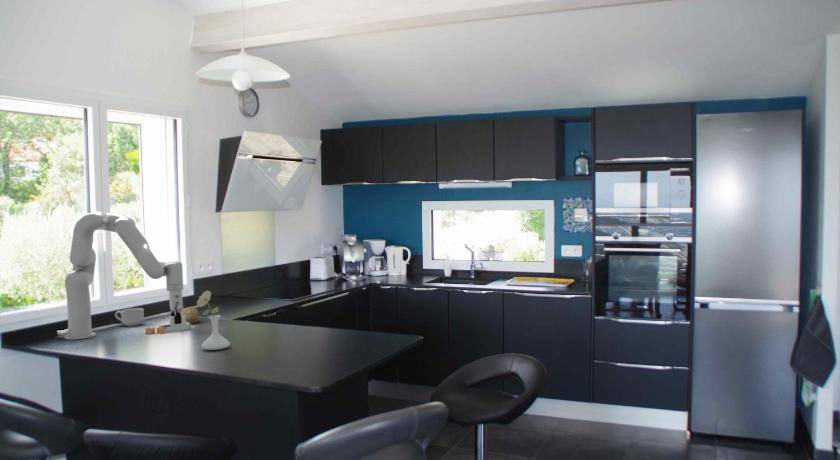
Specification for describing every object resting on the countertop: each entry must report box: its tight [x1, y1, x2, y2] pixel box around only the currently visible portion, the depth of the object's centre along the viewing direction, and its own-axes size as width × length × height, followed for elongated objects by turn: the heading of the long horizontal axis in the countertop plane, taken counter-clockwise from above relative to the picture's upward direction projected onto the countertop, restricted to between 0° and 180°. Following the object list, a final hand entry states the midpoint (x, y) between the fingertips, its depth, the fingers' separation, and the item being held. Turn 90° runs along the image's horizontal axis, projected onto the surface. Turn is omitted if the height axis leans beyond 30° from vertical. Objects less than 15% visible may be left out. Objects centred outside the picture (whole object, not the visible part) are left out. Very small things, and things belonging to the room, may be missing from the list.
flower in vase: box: [196, 290, 230, 351], centre depth 260 cm, size 13×11×25 cm
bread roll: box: [181, 306, 200, 325], centre depth 324 cm, size 10×15×8 cm, turn 26°
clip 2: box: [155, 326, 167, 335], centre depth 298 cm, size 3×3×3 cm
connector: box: [158, 315, 186, 329], centre depth 304 cm, size 12×4×6 cm, turn 120°
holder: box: [165, 322, 192, 333], centre depth 305 cm, size 11×8×2 cm
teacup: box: [114, 307, 145, 327], centre depth 320 cm, size 14×11×8 cm
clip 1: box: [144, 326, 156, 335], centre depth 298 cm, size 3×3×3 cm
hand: (176, 322), depth 304 cm, fingers open, 9 cm apart
